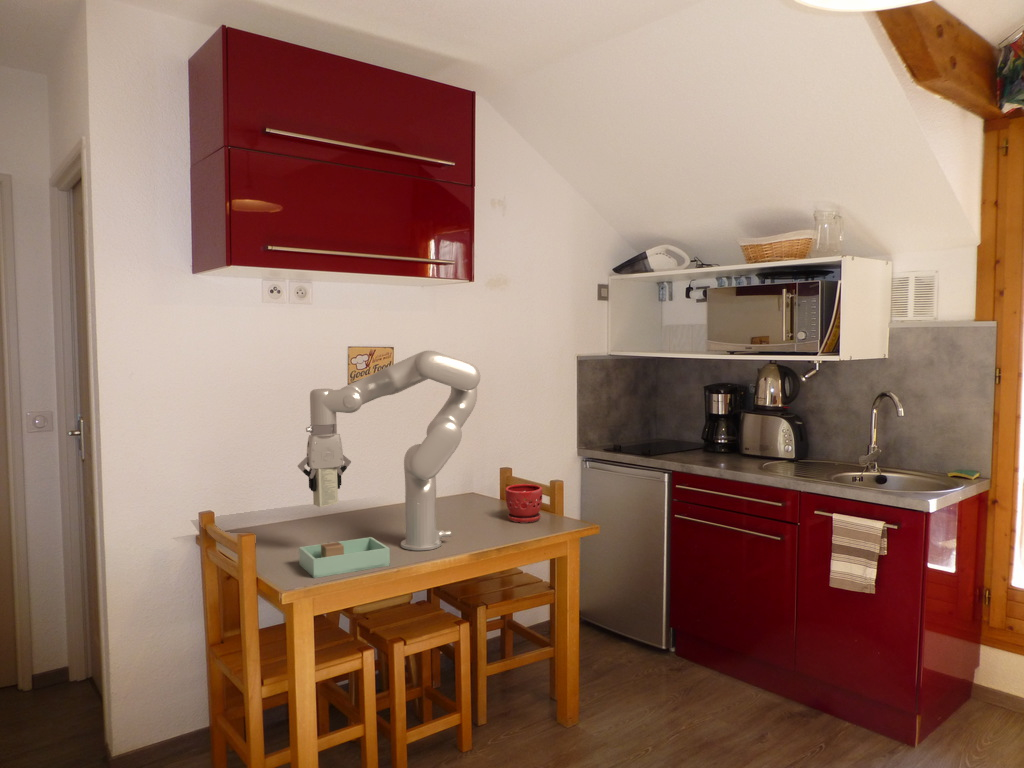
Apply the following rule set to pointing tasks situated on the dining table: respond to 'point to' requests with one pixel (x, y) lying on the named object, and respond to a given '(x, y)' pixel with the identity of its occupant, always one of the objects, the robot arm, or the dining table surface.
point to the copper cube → (331, 549)
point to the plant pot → (524, 502)
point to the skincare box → (326, 487)
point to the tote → (345, 557)
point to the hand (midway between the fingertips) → (325, 488)
